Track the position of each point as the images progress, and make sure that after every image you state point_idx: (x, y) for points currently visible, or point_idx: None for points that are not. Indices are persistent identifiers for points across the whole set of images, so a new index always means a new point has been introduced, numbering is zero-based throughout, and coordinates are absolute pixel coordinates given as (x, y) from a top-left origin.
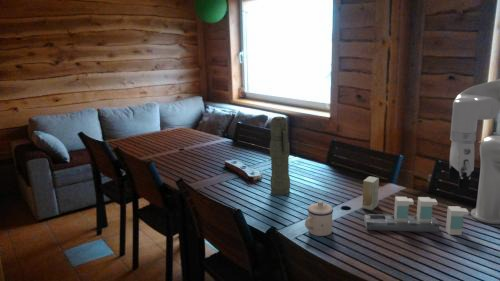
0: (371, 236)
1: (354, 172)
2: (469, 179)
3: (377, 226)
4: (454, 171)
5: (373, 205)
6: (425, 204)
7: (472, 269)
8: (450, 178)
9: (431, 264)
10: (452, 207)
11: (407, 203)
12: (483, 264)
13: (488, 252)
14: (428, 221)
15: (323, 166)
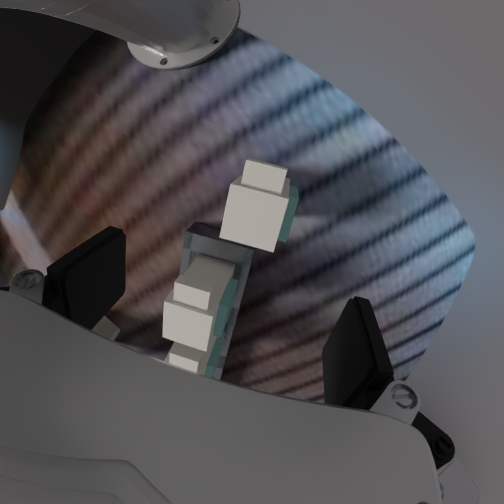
0: (251, 386)
1: None
2: (389, 368)
3: (221, 375)
4: (84, 305)
5: (110, 332)
6: (212, 329)
7: (446, 270)
8: (121, 290)
9: (396, 338)
10: (236, 225)
11: (203, 374)
12: (443, 232)
13: (406, 173)
14: (231, 277)
15: None
